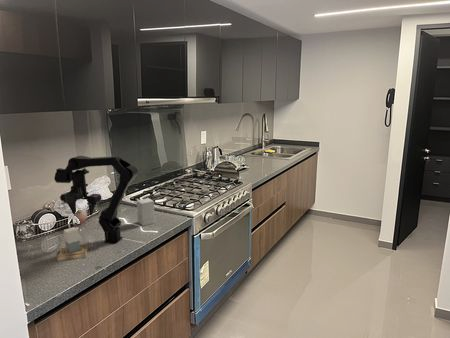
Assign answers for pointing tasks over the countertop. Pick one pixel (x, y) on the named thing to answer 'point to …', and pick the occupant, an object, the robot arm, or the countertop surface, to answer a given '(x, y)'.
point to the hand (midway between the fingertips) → (82, 214)
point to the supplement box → (145, 211)
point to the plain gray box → (72, 240)
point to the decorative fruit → (81, 215)
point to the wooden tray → (65, 255)
